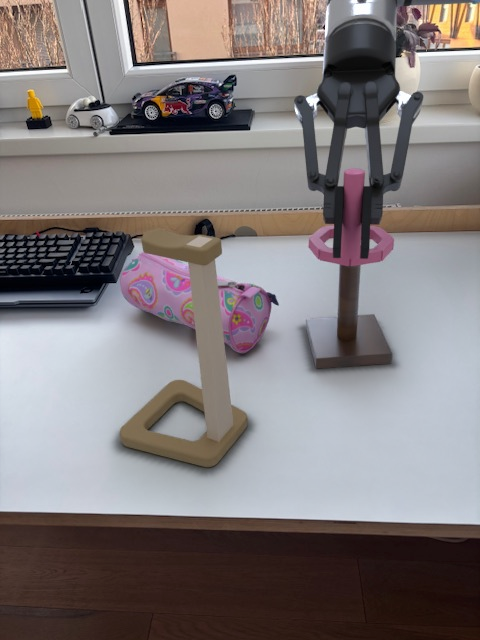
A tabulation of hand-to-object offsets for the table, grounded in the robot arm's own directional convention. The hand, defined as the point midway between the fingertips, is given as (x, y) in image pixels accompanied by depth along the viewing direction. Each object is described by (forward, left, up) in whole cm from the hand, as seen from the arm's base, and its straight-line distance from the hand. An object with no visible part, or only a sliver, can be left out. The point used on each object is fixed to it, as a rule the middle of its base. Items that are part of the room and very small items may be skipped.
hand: (350, 253), depth 53 cm
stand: (0, -8, -16) cm, 18 cm away
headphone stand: (+16, +9, -16) cm, 25 cm away
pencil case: (+20, -11, -17) cm, 28 cm away
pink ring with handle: (0, -8, -3) cm, 9 cm away
